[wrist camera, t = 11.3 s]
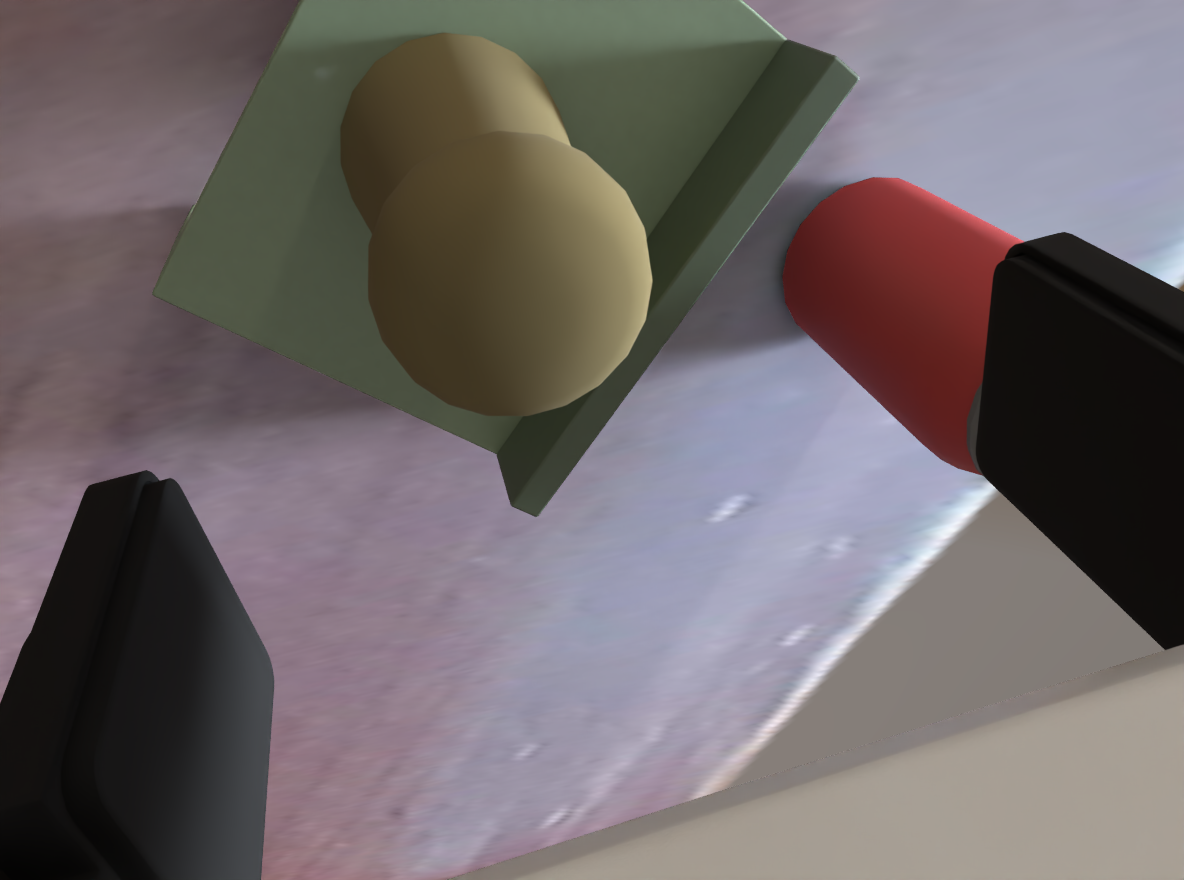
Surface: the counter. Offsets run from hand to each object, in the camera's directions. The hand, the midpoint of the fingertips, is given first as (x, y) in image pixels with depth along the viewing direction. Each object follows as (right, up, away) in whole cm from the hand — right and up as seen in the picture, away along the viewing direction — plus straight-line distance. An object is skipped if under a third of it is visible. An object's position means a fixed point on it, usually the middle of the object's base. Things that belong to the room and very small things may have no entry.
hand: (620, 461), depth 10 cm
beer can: (+10, +7, +25) cm, 28 cm away
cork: (-4, +8, +14) cm, 17 cm away
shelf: (-4, +10, +19) cm, 22 cm away
